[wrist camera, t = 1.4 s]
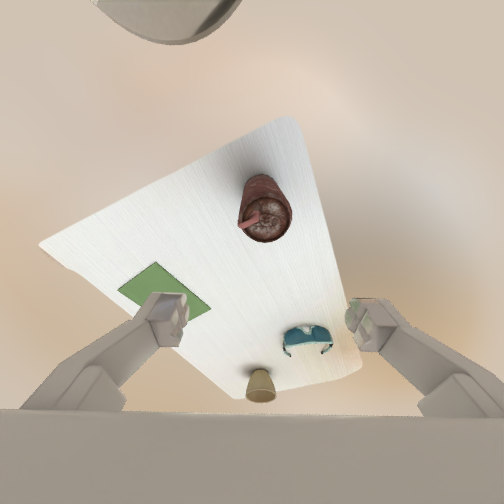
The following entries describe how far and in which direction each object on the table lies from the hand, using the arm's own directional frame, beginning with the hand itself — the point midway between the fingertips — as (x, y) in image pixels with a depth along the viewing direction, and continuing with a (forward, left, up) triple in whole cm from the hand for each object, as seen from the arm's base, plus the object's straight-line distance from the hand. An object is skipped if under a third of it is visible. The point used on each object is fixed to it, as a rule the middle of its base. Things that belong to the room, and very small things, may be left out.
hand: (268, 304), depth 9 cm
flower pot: (+53, -35, -26) cm, 68 cm away
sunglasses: (+45, -13, -26) cm, 53 cm away
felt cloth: (+9, -34, -26) cm, 44 cm away
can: (+1, 0, -26) cm, 26 cm away
